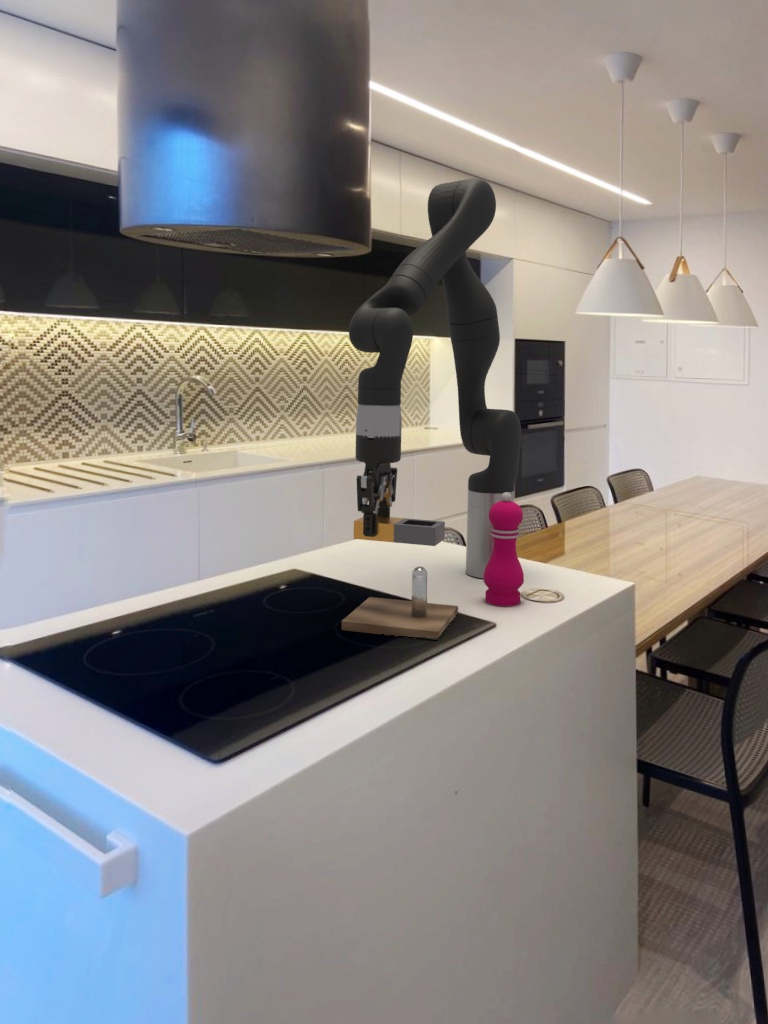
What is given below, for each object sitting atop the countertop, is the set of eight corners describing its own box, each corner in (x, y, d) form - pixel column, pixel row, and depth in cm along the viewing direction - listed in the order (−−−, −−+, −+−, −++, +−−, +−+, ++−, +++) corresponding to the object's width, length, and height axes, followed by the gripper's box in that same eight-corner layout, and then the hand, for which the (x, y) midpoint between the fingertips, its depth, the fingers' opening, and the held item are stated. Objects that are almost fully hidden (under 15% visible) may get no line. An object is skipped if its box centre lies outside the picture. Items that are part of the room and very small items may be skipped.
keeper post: (413, 612, 137) (414, 564, 135) (428, 613, 136) (429, 565, 134) (409, 616, 134) (410, 567, 133) (424, 618, 134) (425, 569, 132)
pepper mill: (522, 608, 144) (526, 496, 140) (480, 606, 145) (484, 494, 142) (523, 597, 151) (528, 489, 147) (484, 594, 152) (487, 488, 148)
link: (365, 532, 142) (366, 515, 141) (444, 539, 138) (444, 521, 137) (353, 538, 136) (353, 521, 136) (434, 546, 132) (435, 527, 131)
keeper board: (369, 605, 145) (369, 597, 145) (457, 614, 141) (458, 605, 140) (341, 630, 132) (341, 621, 132) (437, 641, 127) (438, 631, 127)
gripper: (371, 428, 143) (370, 523, 146) (341, 434, 130) (339, 538, 132) (413, 430, 141) (410, 526, 144) (386, 436, 127) (383, 542, 130)
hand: (376, 532), depth 138 cm, fingers closed on link, 6 cm apart
